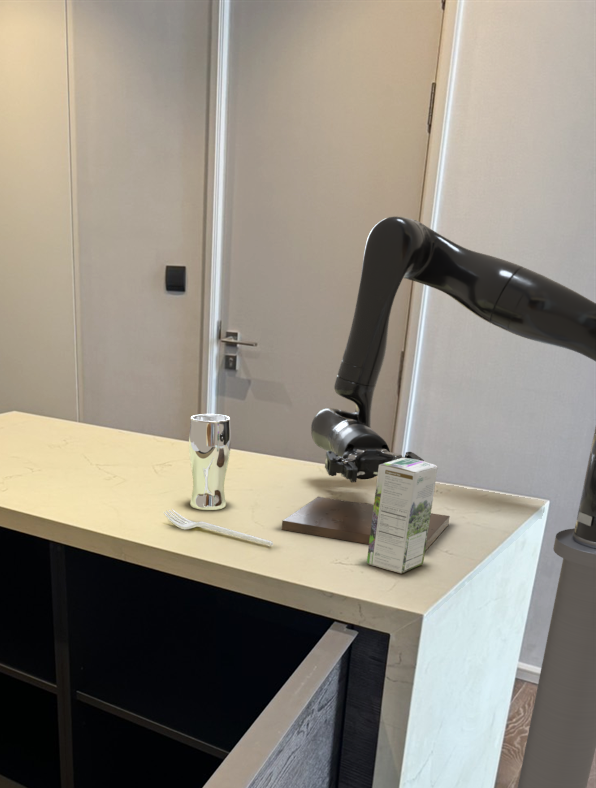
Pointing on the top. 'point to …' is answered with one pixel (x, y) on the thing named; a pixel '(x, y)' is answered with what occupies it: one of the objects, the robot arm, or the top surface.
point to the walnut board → (346, 520)
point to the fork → (211, 528)
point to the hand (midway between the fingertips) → (384, 476)
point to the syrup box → (401, 514)
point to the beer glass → (209, 459)
